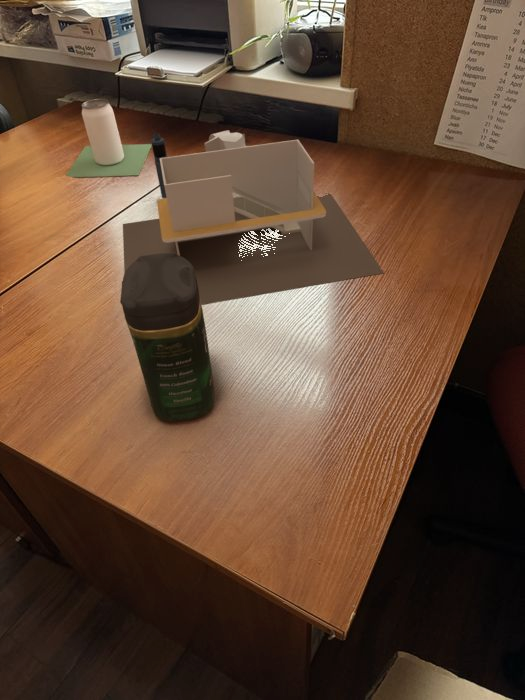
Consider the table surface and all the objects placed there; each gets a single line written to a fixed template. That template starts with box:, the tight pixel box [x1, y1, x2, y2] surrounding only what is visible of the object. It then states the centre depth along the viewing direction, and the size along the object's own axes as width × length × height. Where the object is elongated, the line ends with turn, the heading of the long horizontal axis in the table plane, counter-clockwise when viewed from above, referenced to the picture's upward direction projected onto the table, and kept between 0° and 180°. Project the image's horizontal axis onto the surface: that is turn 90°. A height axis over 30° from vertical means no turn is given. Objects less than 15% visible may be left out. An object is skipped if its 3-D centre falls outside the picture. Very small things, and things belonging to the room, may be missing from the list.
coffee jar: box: [119, 253, 215, 423], centre depth 56 cm, size 10×8×19 cm
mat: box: [65, 143, 153, 179], centre depth 113 cm, size 16×16×1 cm
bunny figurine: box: [203, 129, 247, 152], centre depth 109 cm, size 10×5×15 cm
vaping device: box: [150, 133, 173, 198], centre depth 95 cm, size 3×5×12 cm, turn 54°
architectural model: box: [156, 139, 327, 253], centre depth 80 cm, size 26×13×15 cm, turn 102°
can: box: [81, 98, 124, 166], centre depth 108 cm, size 6×6×12 cm
